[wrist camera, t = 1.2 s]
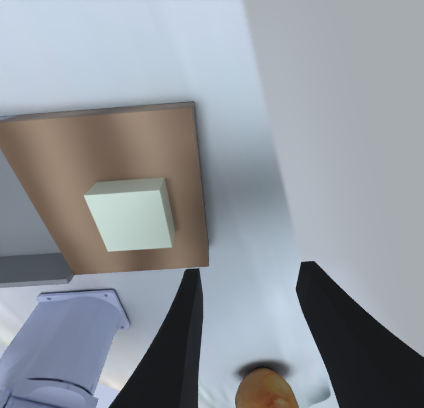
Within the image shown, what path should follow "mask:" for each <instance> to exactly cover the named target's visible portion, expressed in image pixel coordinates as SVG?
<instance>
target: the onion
mask: <svg viewBox="0 0 424 408" xmlns="http://www.w3.org/2000/svg"><path fill="white" fill-rule="evenodd" d="M235 405H236V408H299V406H298V403H297V401H296V398H295V396H294V393H293V391H292V389H291V387H290V385H289V384H288V383H287V382H286V380H285V379H284V378H283V377H282V376H280V375H279V374H278V373H276V372H274V371H272V370H270V369H268V368H261V367H260V368H257V369H255V370H252V371H251V372H250V373H249V374H248V375H247V376H246V377H245V378H244V379H243V380H242V382H241V384H240V385H239V388H238V390H237V394H236V397H235Z"/></svg>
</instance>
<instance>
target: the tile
mask: <svg viewBox="0 0 424 408" xmlns="http://www.w3.org/2000/svg"><path fill="white" fill-rule="evenodd" d="M84 198H85V200H86V202H87V205H88V207H89V209H90V211H91V214H92V216H93V218H94V221H95V223H96V225H97V228H98V230H99V232H100V235H101V237H102V239H103V241H104V244H105V246H106V248H107V251H108V252H110V251H126V250H141V249H157V248H172V246H173V241H174V235H175V227H174V222H173V217H172V212H171V207H170V202H169V197H168V192H167V187H166V182H165V177H160V178H146V179H132V180H118V181H104V182H96V183H95V184H94V185H93V186H92V187H91V188H90V189H89V190H88V192H87V193H86V194H85V195H84Z"/></svg>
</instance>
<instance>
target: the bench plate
mask: <svg viewBox="0 0 424 408" xmlns="http://www.w3.org/2000/svg"><path fill="white" fill-rule="evenodd" d="M0 149H1V151H2V153H3V154H4V156H5V158H6V159H7V161H8V163H9V164H10V166H11V168H12V170H13V171H14V173H15V175H16V176H17V178H18V180H19V181H20V183H21V185H22V187H23V188H24V190H25V192H26V193H27V195H28V197H29V199H30V200H31V202H32V204H33V205H34V207H35V209H36V210H37V212H38V214H39V216H40V217H41V219H42V221H43V222H44V224H45V226H46V228H47V229H48V231H49V233H50V234H51V236H52V238H53V239H54V241H55V243H56V245H57V246H58V248H59V250H60V251H61V253H62V255H63V257H64V258H65V260H66V262H67V263H68V265H69V267H70V268H71V270H72V272H73V274H74V275H81V274H96V273H112V272H128V271H144V270H160V269H175V268H191V267H207V266H209V243H208V233H207V224H206V214H205V204H204V194H203V185H202V175H201V165H200V155H199V146H198V136H197V126H196V116H195V106H194V102H181V103H168V104H156V105H143V106H130V107H117V108H105V109H92V110H79V111H66V112H53V113H41V114H28V115H19V116H15V117H11V118H7V119H3V120H0ZM160 177H165V182H166V187H167V192H168V197H169V202H170V207H171V212H172V217H173V222H174V227H175V235H174V241H173V246H172V248H157V249H141V250H126V251H110V252H108V251H107V248H106V246H105V244H104V241H103V239H102V237H101V235H100V232H99V230H98V228H97V225H96V223H95V221H94V218H93V216H92V214H91V211H90V209H89V207H88V205H87V202H86V200H85V198H84V195H85V194H86V193H87V192H88V190H89V189H90V188H91V187H92V186H93V185H94V184H95V183H96V182H104V181H118V180H132V179H146V178H160Z"/></svg>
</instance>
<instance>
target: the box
mask: <svg viewBox="0 0 424 408" xmlns="http://www.w3.org/2000/svg"><path fill="white" fill-rule="evenodd" d="M15 116H19V115H15ZM15 116H2V117H0V120H3V119H7V118H11V117H15ZM73 276H74V274H73V272H72V270H71V268H70V267H69V265H68V263H67V262H66V260H65V258H64V257H63V255H62V253H61V251H60V250H59V248H58V246H57V245H56V243H55V241H54V239H53V238H52V236H51V234H50V233H49V231H48V229H47V228H46V226H45V224H44V222H43V221H42V219H41V217H40V216H39V214H38V212H37V210H36V209H35V207H34V205H33V204H32V202H31V200H30V199H29V197H28V195H27V193H26V192H25V190H24V188H23V187H22V185H21V183H20V181H19V180H18V178H17V176H16V175H15V173H14V171H13V170H12V168H11V166H10V164H9V163H8V161H7V159H6V158H5V156H4V154H3V153H2V151H1V149H0V288H5V287H21V286H37V285H53V284H69V282H70V281H71V279H72V278H73Z"/></svg>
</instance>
